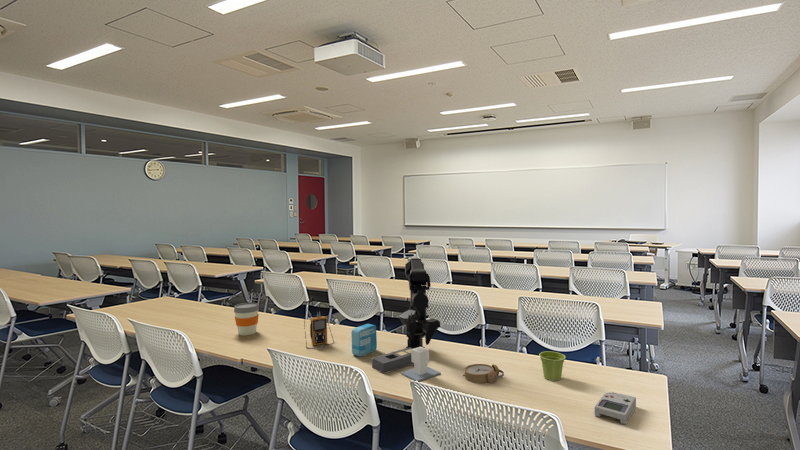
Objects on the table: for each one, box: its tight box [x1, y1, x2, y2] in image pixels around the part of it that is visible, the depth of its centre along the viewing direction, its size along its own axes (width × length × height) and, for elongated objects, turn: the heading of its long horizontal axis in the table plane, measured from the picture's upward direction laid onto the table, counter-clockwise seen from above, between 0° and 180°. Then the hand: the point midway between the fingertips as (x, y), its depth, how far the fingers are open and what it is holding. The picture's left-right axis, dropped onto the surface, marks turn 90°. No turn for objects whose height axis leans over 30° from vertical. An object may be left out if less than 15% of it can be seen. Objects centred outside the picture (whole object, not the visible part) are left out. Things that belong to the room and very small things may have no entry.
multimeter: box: [303, 302, 335, 350], centre depth 200 cm, size 15×10×20 cm
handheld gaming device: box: [593, 391, 637, 425], centre depth 132 cm, size 9×15×4 cm, turn 140°
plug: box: [411, 346, 430, 375], centre depth 164 cm, size 5×5×9 cm
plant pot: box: [538, 350, 566, 382], centre depth 158 cm, size 9×9×9 cm
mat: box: [400, 366, 441, 382], centre depth 165 cm, size 12×10×1 cm
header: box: [371, 347, 414, 374], centre depth 175 cm, size 20×8×4 cm, turn 127°
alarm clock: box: [462, 363, 505, 384], centre depth 160 cm, size 11×5×15 cm
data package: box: [351, 323, 378, 357], centre depth 190 cm, size 12×4×12 cm, turn 142°
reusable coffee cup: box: [233, 302, 260, 336], centre depth 224 cm, size 13×13×15 cm
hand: (419, 341), depth 164 cm, fingers open, 9 cm apart
